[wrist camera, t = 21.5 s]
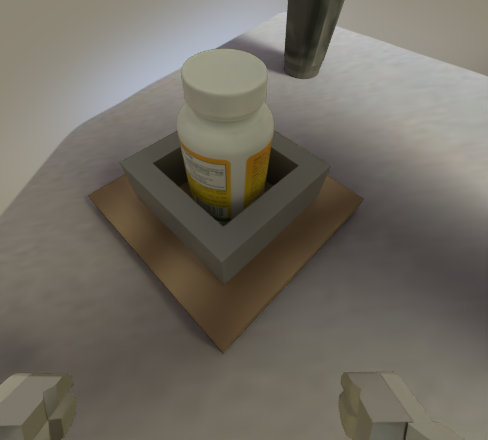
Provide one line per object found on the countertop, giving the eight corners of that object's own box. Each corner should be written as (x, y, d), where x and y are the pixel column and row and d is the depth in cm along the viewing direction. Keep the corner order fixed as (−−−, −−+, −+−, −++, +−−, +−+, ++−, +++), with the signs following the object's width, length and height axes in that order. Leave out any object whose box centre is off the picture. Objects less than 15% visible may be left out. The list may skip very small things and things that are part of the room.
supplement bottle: (199, 234, 18) (170, 111, 10) (188, 178, 21) (158, 46, 13) (272, 218, 19) (300, 94, 11) (252, 167, 22) (262, 37, 14)
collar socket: (356, 209, 21) (385, 166, 17) (223, 353, 15) (218, 341, 11) (231, 125, 27) (230, 77, 23) (97, 207, 21) (61, 161, 17)
